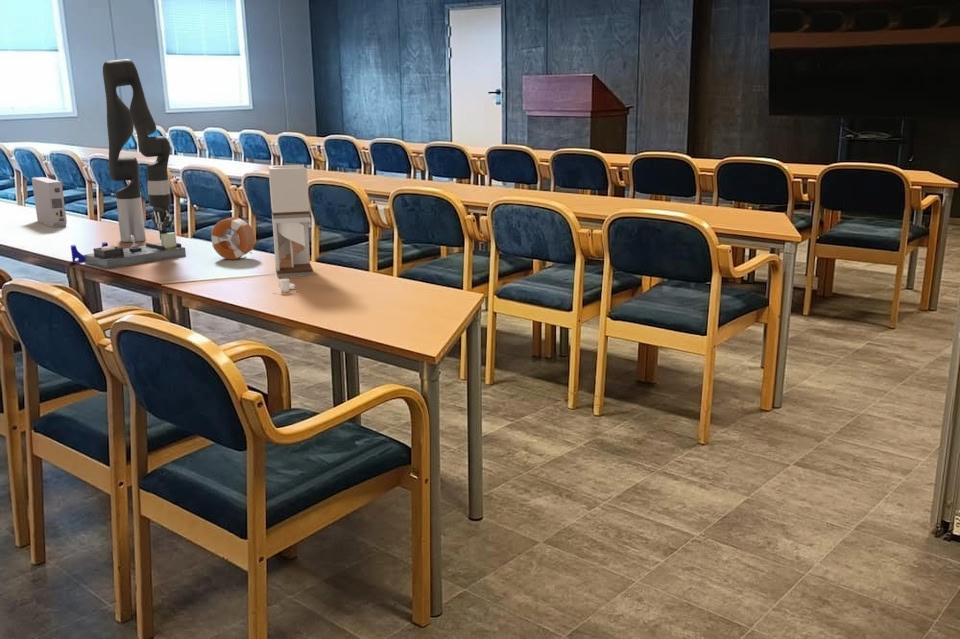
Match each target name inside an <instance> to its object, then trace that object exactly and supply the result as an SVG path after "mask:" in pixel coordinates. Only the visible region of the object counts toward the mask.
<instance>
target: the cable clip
mask: <svg viewBox="0 0 960 639" xmlns="http://www.w3.org/2000/svg"><path fill="white" fill-rule="evenodd" d="M101 244H102V245H101V247H105V246H109V245H108V242H107V241H104V242H101ZM70 252H71V260H72V262H73V264H74V263H84V262H85V256H84V255H85V254H82V253H81V252H79V251H78V249H77V246H76V244H71V245H70ZM76 259H77V260H76Z"/></svg>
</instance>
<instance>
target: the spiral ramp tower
mask: <svg viewBox="0 0 960 639" xmlns="http://www.w3.org/2000/svg"><path fill="white" fill-rule="evenodd" d="M268 178H269V188H270V189H269V192H270V193H269V194H270V207H271V208H270V209H271V221H272V233H273V234H272V235H273V247H274V262H275V263H274V264H275V273H276V276H277V278H278V277H279V278H291V277H290V276H295V277H306V276H305V275H310V276H314V270H313V269H314V268H313V267H312V265H311V257H310V240H309V225H308V224H309V223H310V222H311V220H310V219H311V216H310V204H309V203H310V201H309V185H308V168H307V167H305V164H290V165H288V164H287V165H268ZM308 222H309V223H308Z"/></svg>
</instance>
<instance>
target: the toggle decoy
mask: <svg viewBox="0 0 960 639" xmlns="http://www.w3.org/2000/svg"><path fill="white" fill-rule="evenodd" d="M130 238H131V241H132V242H131V243H132V245H131V244H130V248H131V247H132V248H135V247H139V246H140V245H139V244H138V243H137V242H135V239H134V236H133V235H131V236H130Z"/></svg>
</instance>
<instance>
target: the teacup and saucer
mask: <svg viewBox="0 0 960 639" xmlns="http://www.w3.org/2000/svg"><path fill="white" fill-rule="evenodd" d="M278 287H279V288H278V289H280V290H279V291H280V292H281V291H283V292H282V293H286V292H285V291H288V292H289V291H290V290H289V289H296V283H295V284H294V283H293V282H290V279H289V278H280V279H278Z"/></svg>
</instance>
